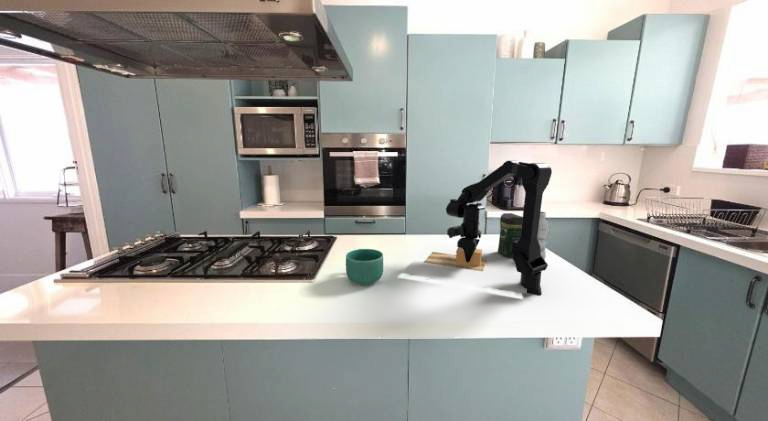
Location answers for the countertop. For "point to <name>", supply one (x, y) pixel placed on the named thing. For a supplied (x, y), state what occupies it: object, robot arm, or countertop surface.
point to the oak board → (451, 261)
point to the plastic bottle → (542, 233)
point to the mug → (364, 266)
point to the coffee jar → (509, 233)
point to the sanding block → (474, 259)
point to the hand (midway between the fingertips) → (468, 259)
